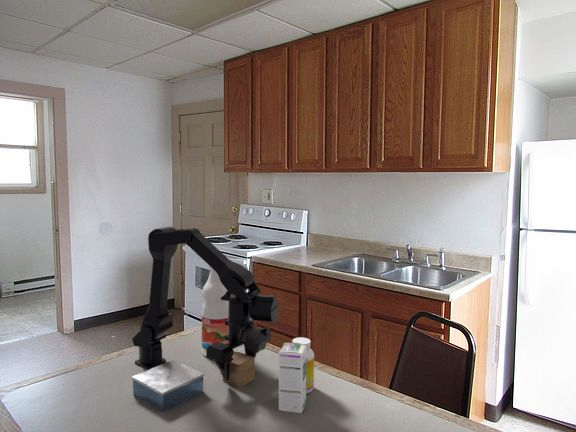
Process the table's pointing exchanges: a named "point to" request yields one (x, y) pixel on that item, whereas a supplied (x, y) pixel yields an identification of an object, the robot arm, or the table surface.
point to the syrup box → (292, 377)
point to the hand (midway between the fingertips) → (238, 373)
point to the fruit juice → (214, 312)
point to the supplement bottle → (308, 363)
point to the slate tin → (167, 385)
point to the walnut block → (241, 369)
